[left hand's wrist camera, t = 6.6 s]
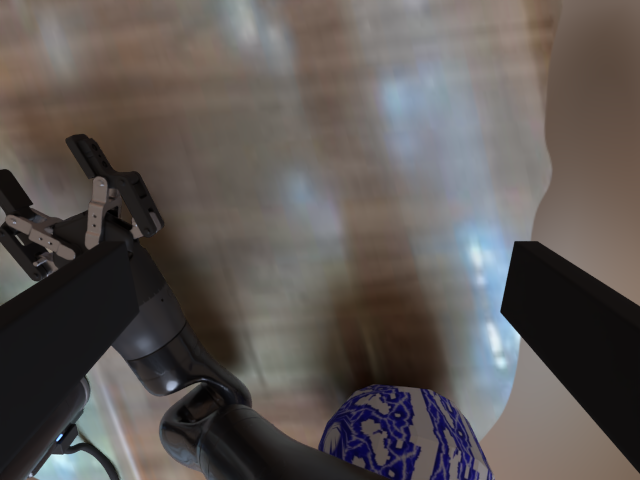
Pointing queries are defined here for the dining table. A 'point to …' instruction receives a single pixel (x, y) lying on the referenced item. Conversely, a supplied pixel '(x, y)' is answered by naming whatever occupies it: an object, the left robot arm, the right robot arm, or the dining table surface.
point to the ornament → (405, 435)
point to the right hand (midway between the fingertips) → (34, 154)
